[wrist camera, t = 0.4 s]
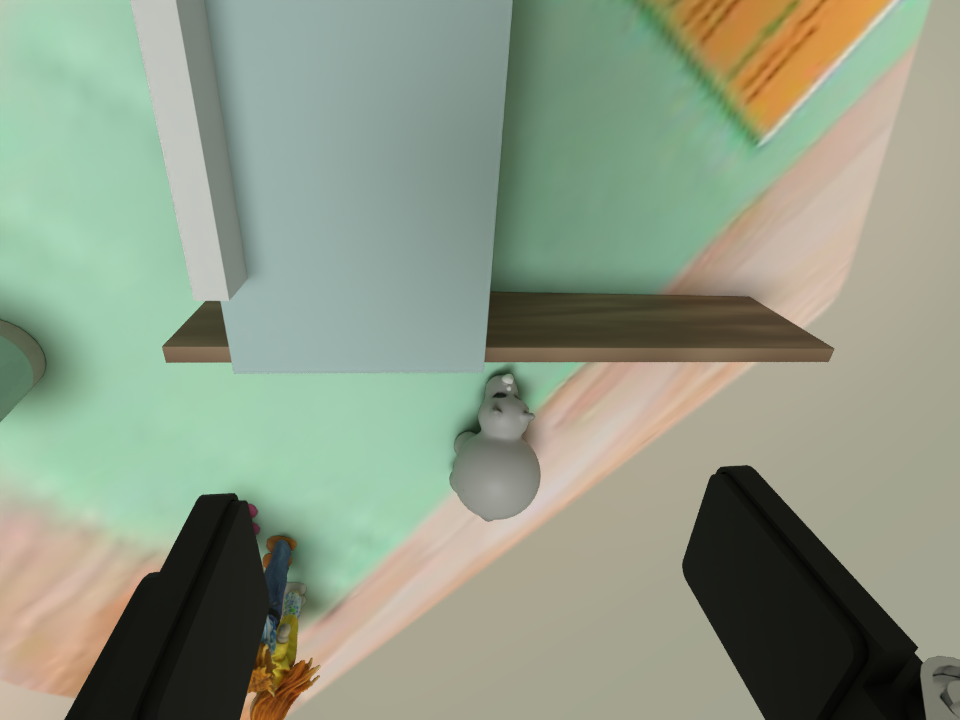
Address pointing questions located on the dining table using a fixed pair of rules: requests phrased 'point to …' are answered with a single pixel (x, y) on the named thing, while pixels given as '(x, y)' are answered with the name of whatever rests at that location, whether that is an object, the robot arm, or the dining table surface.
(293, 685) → the doll family
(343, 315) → the sliding cover
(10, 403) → the coffee cup
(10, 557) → the dining table surface
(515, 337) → the wooden shelf frame
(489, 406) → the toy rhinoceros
